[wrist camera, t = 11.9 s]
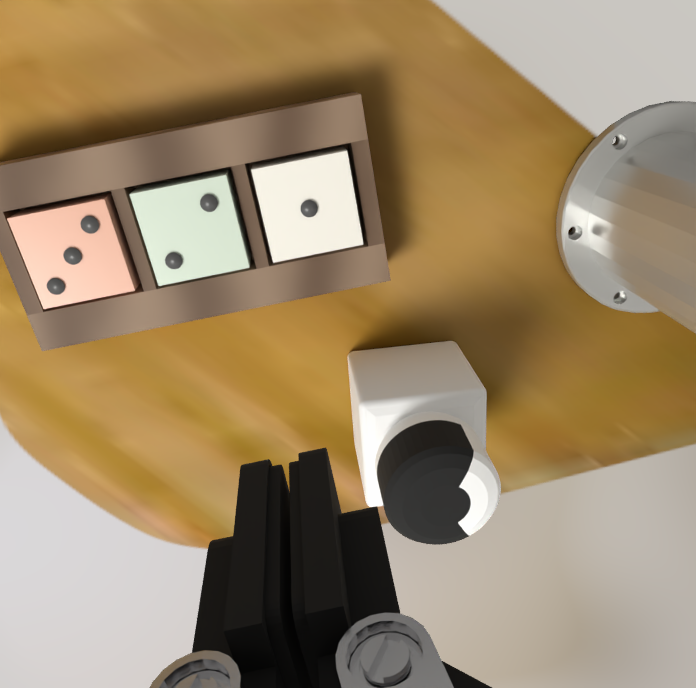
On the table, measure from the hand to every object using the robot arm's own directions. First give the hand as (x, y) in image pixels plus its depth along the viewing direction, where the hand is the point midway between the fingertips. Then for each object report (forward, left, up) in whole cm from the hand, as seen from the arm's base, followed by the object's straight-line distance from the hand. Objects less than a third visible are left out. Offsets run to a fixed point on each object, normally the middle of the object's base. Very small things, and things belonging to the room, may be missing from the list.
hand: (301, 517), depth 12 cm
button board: (+5, -1, -27) cm, 28 cm away
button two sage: (+5, -1, -26) cm, 26 cm away
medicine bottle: (-5, +13, -27) cm, 31 cm away
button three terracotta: (+11, -1, -26) cm, 28 cm away
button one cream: (-1, -1, -26) cm, 26 cm away
